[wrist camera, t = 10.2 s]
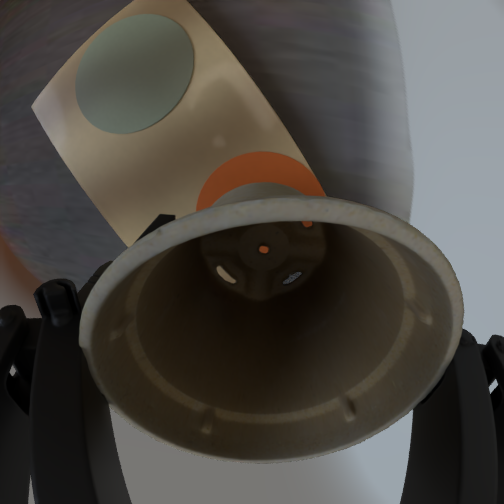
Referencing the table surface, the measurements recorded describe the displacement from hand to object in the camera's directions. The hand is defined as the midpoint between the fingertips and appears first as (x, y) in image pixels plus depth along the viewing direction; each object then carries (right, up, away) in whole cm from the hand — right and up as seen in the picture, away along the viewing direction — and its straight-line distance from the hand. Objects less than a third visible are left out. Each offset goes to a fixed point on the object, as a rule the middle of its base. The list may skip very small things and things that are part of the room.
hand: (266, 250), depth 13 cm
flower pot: (0, 0, +1) cm, 1 cm away
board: (-5, +6, +3) cm, 9 cm away
